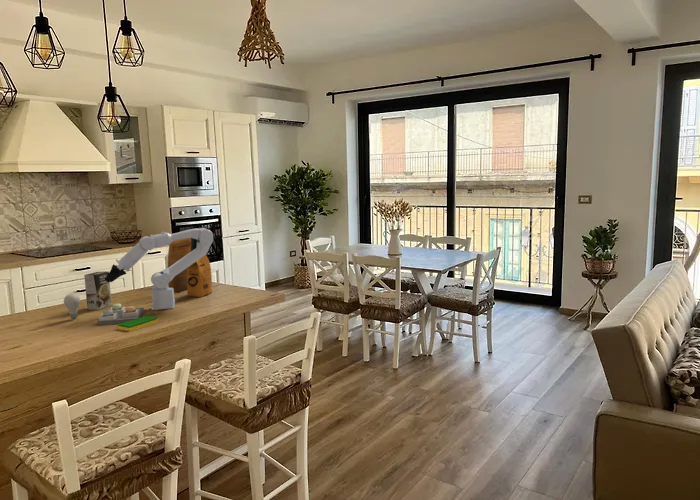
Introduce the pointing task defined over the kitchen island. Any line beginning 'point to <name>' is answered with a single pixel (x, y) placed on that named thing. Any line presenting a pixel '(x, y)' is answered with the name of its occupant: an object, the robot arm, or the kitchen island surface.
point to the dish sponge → (137, 323)
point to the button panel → (120, 316)
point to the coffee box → (97, 290)
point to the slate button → (107, 313)
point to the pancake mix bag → (175, 254)
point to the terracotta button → (130, 309)
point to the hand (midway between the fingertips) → (107, 280)
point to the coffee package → (199, 278)
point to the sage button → (116, 307)
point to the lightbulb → (72, 304)
